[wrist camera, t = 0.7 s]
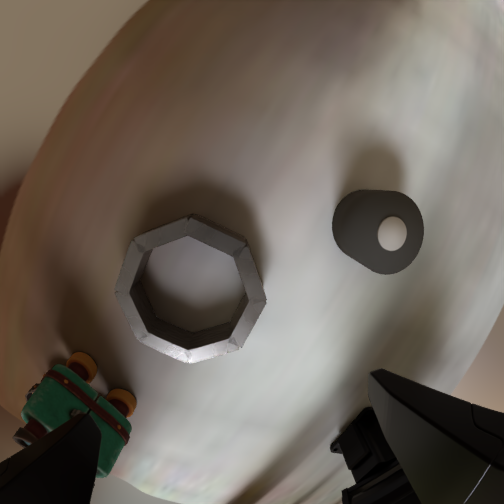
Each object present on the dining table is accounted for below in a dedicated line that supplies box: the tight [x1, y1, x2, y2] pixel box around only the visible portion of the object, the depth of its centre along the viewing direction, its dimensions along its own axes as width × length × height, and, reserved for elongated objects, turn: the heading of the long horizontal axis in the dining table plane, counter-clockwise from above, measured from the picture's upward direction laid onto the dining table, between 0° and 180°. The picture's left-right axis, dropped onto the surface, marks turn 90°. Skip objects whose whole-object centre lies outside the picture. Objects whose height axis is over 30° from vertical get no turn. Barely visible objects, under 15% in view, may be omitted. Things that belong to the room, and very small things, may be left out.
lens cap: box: [332, 190, 424, 275], centre depth 18 cm, size 5×5×4 cm
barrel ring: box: [114, 214, 267, 363], centre depth 19 cm, size 9×9×2 cm
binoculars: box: [13, 352, 136, 488], centre depth 17 cm, size 9×11×10 cm
